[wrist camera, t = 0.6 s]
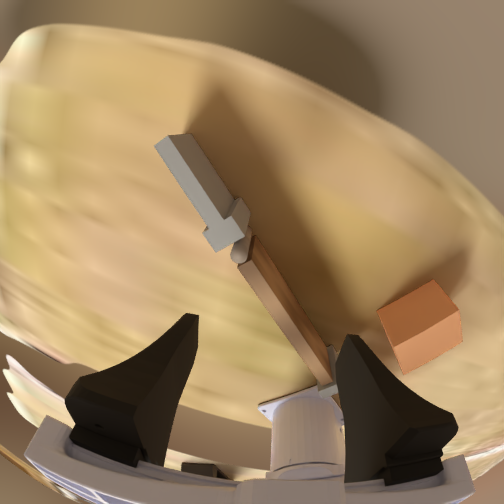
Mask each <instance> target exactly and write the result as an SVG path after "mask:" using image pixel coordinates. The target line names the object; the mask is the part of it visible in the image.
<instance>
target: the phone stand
mask: <svg viewBox="0 0 504 504" xmlns="http://www.w3.org/2000/svg"><path fill="white" fill-rule="evenodd" d="M181 471H182V472H187V473H192V474H196V475H202V476H207V477H213V478H219V479H226V480H230V479H229V478H228V477H227V476H225V475H224V474H223V473H222V472H221V471H220V470H219V469H218V468H217V467H216V466H215V465H214V464H187V463H182V465H181Z"/></svg>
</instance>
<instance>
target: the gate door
mask: <svg viewBox="0 0 504 504" xmlns="http://www.w3.org/2000/svg"><path fill="white" fill-rule="evenodd" d="M251 236H252V229H251V227H250V226H247V230H246V234H245V237H243V238H241V239H239V240H237V241H236V242H234V245H233V248H232V251H231V254H230V256H231V259H232V260H233V261H234V262H235V263H238V267H237V268H238V269H239V271H240V272H241V274H242V275H243V276H244V278H245V279H246V281H247V282H248V284H249V285H250V286H251V288H252V289H253V291H254V292H255V294H256V295H257V296H258V298H259V299H260V301H261V302H262V304H263V305H264V306H265V308H266V309H267V311H268V312H269V313H270V315H271V316H272V318H273V319H274V320H275V322H276V323H277V325H278V326H279V327H280V329H281V330H282V332H283V333H284V334H285V336H286V337H287V339H288V340H289V341H290V343H291V344H292V346H293V347H294V348H295V350H296V351H297V353H298V354H299V355H300V357H301V358H302V359H303V361H304V362H305V364H306V365H307V366H308V368H309V369H310V370H311V372H312V373H313V375H314V376H315V377H316V379H317V380H318V381H319V383H320V384H321V385H322V386H323V385H326V384H328V383H331V382H333V378H332V373H331V367H330V362H329V357H328V352H327V347H326V346H325V344H324V343H323V341H322V339H321V338H320V336H319V335H318V333H317V331H316V330H315V328H314V327H313V325H312V323H311V322H310V320H309V319H308V317H307V315H306V314H305V312H304V311H303V309H302V307H301V306H300V304H299V303H298V301H297V299H296V298H295V296H294V295H293V293H292V292H291V290H290V288H289V287H288V285H287V284H286V282H285V280H284V279H283V277H282V276H281V274H280V273H279V271H278V269H277V268H276V266H275V265H274V263H273V262H272V260H271V258H270V257H269V255H268V254H267V252H266V251H265V249H264V247H263V246H262V244H261V243H260V241H259V240H258V238H257V237H256V235H255V236H253V237H251Z"/></svg>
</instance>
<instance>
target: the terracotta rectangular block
mask: <svg viewBox="0 0 504 504" xmlns="http://www.w3.org/2000/svg"><path fill="white" fill-rule="evenodd" d="M377 313H378V315H379V318H380V320H381V323H382V325H383V328H384V330H385V333H386V335H387V338H388V340H389V342H390V345H391V347H392V349H393V351H394V354H395V356H396V358H397V361H398V363H399V365H400V368H401V370H402V373H403V375H404V374H406V373H408V372H410V371H412V370H414V369H416V368H418V367H420V366H422V365H424V364H425V363H427V362H429V361H431V360H433V359H434V358H436V357H438V356H440V355H441V354H443V353H445V352H446V351H448V350H450V349H451V348H453V347H455V346H456V345H458V344H459V343H461V342H463V340H462V329H461V320H460V312H459V309H458V308H457V306H456V305H455V304H454V303H453V302H452V300H451V299H450V298H449V297H448V296H447V294H446V293H445V292H444V291H443V290H442V289H441V287H440V286H439V285H438V284H437V283H436V282H435V281H434V279H433V280H431V281H429V282H428V283H426V284H424V285H423V286H421V287H419V288H418V289H416V290H414V291H412V292H410V293H409V294H407V295H405V296H403V297H401V298H400V299H398V300H396V301H394V302H392V303H390V304H389V305H387V306H385V307H383V308H381V309H379V310H377Z"/></svg>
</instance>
